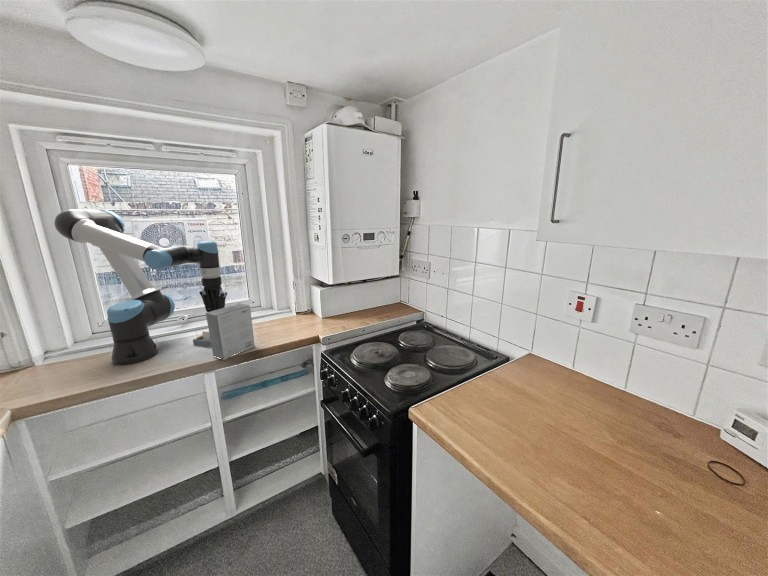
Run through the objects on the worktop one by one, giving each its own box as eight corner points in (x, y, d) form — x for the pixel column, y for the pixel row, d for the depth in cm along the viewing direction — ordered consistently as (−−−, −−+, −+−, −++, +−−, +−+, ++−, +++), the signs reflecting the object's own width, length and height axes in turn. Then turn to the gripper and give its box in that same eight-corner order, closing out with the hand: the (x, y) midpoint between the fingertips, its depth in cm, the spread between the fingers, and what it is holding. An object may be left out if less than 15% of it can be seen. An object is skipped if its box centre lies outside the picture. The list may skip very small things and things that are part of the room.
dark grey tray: (193, 345, 137) (192, 339, 137) (225, 329, 156) (224, 324, 156) (217, 347, 134) (216, 341, 134) (247, 331, 153) (246, 326, 153)
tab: (203, 340, 138) (202, 331, 137) (209, 337, 142) (208, 328, 141) (210, 341, 137) (208, 332, 136) (216, 338, 141) (214, 329, 140)
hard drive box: (245, 343, 139) (240, 302, 134) (255, 347, 135) (250, 305, 130) (212, 357, 126) (205, 312, 121) (222, 361, 122) (216, 315, 117)
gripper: (191, 277, 129) (198, 328, 134) (217, 279, 126) (223, 331, 132) (205, 274, 136) (211, 322, 142) (230, 276, 133) (235, 325, 139)
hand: (217, 327), depth 137 cm, fingers closed
